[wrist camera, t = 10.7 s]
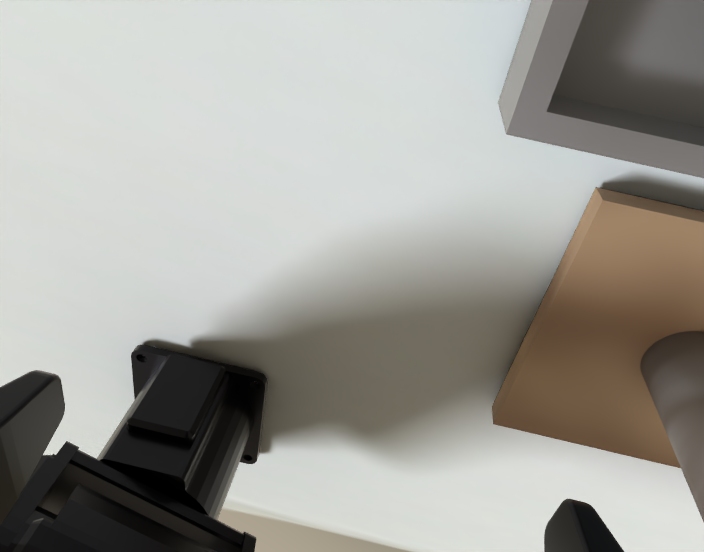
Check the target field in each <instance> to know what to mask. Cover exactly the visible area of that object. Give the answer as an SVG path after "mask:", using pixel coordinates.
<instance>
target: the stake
mask: <svg viewBox="0 0 704 552" xmlns="http://www.w3.org/2000/svg"><path fill="white" fill-rule="evenodd" d="M492 413H493V424H496V425H500V426H504V427H508V428H513V429H517V430H521V431H525V432H530V433H534V434H538V435H542V436H547V437H551V438H555V439H559V440H563V441H568V442H572V443H576V444H580V445H585V446H589V447H593V448H597V449H602V450H606V451H610V452H614V453H619V454H623V455H627V456H631V457H636V458H640V459H644V460H648V461H653V462H657V463H661V464H665V465H670V466H674V467H678V468H681V469H682V471H683V474H684V476H685V478H686V481H687V483H688V486H689V488H690V490H691V493H692V495H693V498H694V500H695V502H696V505H697V507H698V510H699V512H700V514H701V517H702V519H703V522H704V211H700V210H695V209H691V208H686V207H682V206H678V205H673V204H669V203H664V202H660V201H655V200H651V199H646V198H642V197H637V196H633V195H628V194H624V193H619V192H615V191H610V190H606V189H601V188H597V187H596V188H595V190H594V192H593V194H592V196H591V199H590V201H589V203H588V205H587V207H586V209H585V211H584V213H583V216H582V218H581V220H580V222H579V224H578V226H577V228H576V230H575V232H574V235H573V237H572V239H571V241H570V243H569V245H568V247H567V249H566V251H565V254H564V256H563V258H562V260H561V262H560V264H559V266H558V268H557V270H556V273H555V275H554V277H553V279H552V281H551V283H550V285H549V287H548V289H547V292H546V294H545V296H544V298H543V300H542V302H541V304H540V306H539V308H538V311H537V313H536V315H535V317H534V319H533V321H532V323H531V325H530V327H529V330H528V332H527V334H526V336H525V338H524V340H523V342H522V344H521V347H520V349H519V351H518V353H517V355H516V357H515V359H514V361H513V363H512V366H511V368H510V370H509V372H508V374H507V376H506V378H505V380H504V382H503V385H502V387H501V389H500V391H499V393H498V395H497V397H496V399H495V401H494V404H493V406H492Z"/></svg>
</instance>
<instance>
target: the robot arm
mask: <svg viewBox="0 0 704 552" xmlns="http://www.w3.org/2000/svg"><path fill="white" fill-rule="evenodd" d="M143 355H144V356H143ZM131 360H132V372H133V384H134V396H135V401H134V402H133V404H132V405H131V407H130V408H129V410H128V411H127V413H126V414H125V416H124V418H123V419H122V421H121V422H120V424H119V425H118V427H117V428H116V430H115V431H114V433H113V435H112V436H111V438H110V439H109V441H108V442H107V444H106V445H105V447H104V448H103V450H102V452H101V453H100V455H99V456H98V458H97V459H96V458H94V457H92V456H90V455H88V454H86V453H84V452H82V451H80V450H78V449H79V447H77V446H76V445H74V444H72V443H70V442H68V441H66V443H65V444H64V445H63V447H62V448H61V449H60V450H59V452H58V453H57V454H56V455H54V454H53V455H43V453H44V451H45V449H46V448H47V446H48V444H49V442H50V440H51V438H52V437H53V435H54V433H55V431H56V429H57V427H58V426H59V424H60V422H61V420H62V418H63V415H64V411H65V403H64V397H63V391H62V384H61V379H60V378H59V376H58V375H56V374H52V373H48V372H44V371H39V370H36V371H32V372H29V373H27V374H25V375H23V376H21V377H19V378H17V379H15V380H13V381H11V382H9V383H7V384H6V385H4V386H2V387H0V552H254V549H255V543H256V537H254V536H252V535H250V534H248V533H246V532H244V533H241V532H239V531H237V530H235V529H233V528H231V527H230V526H228V525H225V524H224V523H221V522H219V521H218V520H217V519H218V516H219V514H220V511H221V509H222V506H223V504H224V501H225V498H226V496H227V493H228V491H229V488H230V485H231V483H232V480H233V478H234V475H235V472H236V470H237V467H238V464H239V462H243V463H247V464H254V463H255V462H256V461H257V458H258V456H259V451H260V442H261V434H262V426H263V417H264V409H265V400H266V392H267V384H268V380H267V377H266V376H265V375H264V374H262V373H260V372H257V371H253V370H249V369H244V368H240V367H236V366H232V365H227V364H223V363H219V362H215V361H210V360H206V359H202V358H198V357H193V356H189V355H185V354H181V353H176V352H172V351H168V350H164V349H160V348H155V347H151V346H147V345H138V346H137V347H136V348H135V349H134V351H133V352H132V354H131ZM254 381H256V382H258V383H256V382H254ZM544 546H545V552H624V551H623V549H622V548H621V547H620V545H619V544H618V542H617V541H616V539H615V538H614V537H613V535H612V534H611V532H610V531H609V529H608V528H607V527H606V525H605V524H604V522H603V521H602V519H601V518H600V517H599V515H598V514H597V512H596V511H595V509H594V508H593V507H592V506H591V505H589V504H587V503H585V502H581V501H576V500H572V499H566V500H564V501H563V502H562V503H561V505H560V506H559V508H558V509H557V510H556V512H555V513H554V515H553V516H552V518H551V519H550V521H549V522H548V524H547V526H546V529H545V536H544Z"/></svg>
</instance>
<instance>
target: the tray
mask: <svg viewBox="0 0 704 552" xmlns="http://www.w3.org/2000/svg"><path fill="white" fill-rule="evenodd" d="M498 104H499V108H500V112H501V116H502V120H503V124H504V128H505V131H506V134H507V135H512V136H516V137H521V138H525V139H530V140H534V141H539V142H543V143H548V144H552V145H557V146H561V147H566V148H570V149H575V150H579V151H584V152H588V153H593V154H597V155H602V156H606V157H611V158H615V159H620V160H624V161H629V162H633V163H638V164H642V165H647V166H652V167H656V168H661V169H665V170H670V171H674V172H679V173H683V174H688V175H692V176H697V177H701V178H704V0H532V1H531V4H530V7H529V10H528V13H527V16H526V19H525V22H524V25H523V28H522V31H521V34H520V37H519V40H518V43H517V46H516V49H515V53H514V56H513V59H512V62H511V65H510V68H509V71H508V74H507V77H506V80H505V83H504V86H503V89H502V92H501V95H500V98H499V101H498Z"/></svg>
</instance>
